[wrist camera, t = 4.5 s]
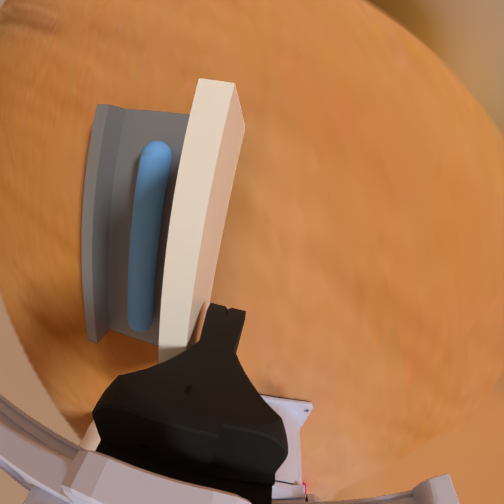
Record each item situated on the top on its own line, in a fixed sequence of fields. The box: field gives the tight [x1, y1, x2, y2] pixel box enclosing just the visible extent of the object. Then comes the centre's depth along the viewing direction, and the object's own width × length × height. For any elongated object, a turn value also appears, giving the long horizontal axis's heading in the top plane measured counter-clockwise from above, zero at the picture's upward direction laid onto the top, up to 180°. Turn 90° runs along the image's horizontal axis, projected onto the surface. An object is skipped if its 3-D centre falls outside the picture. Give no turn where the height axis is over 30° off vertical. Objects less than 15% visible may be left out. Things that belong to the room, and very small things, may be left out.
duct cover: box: [158, 78, 245, 364], centre depth 12 cm, size 17×9×1 cm
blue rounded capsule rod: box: [127, 141, 172, 332], centre depth 18 cm, size 14×2×2 cm, turn 167°
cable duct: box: [81, 104, 190, 346], centre depth 18 cm, size 18×9×3 cm, turn 167°
